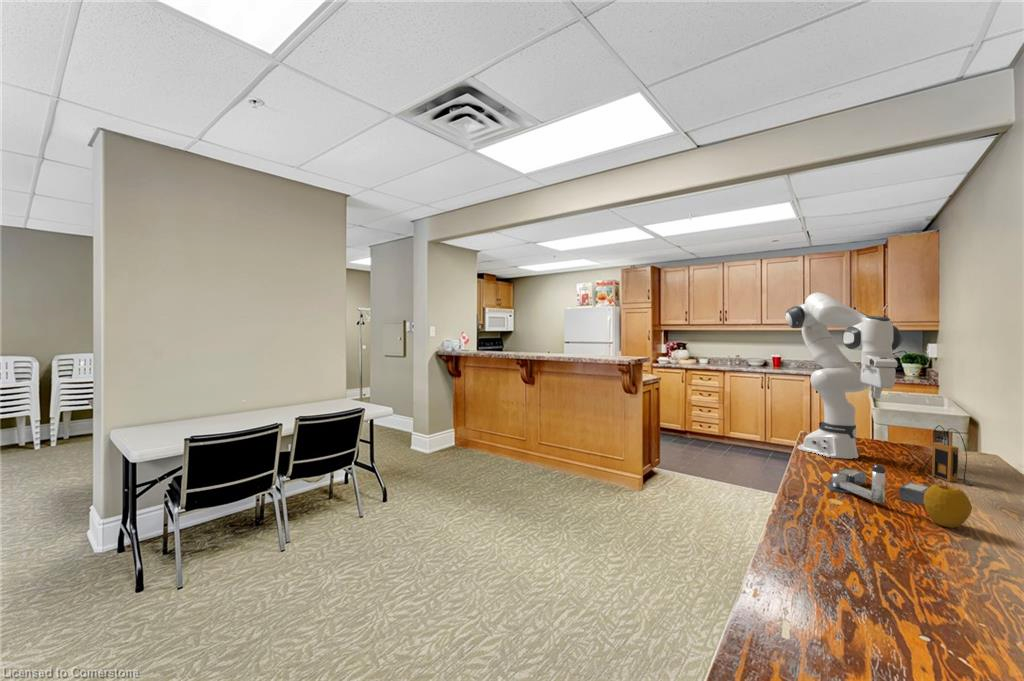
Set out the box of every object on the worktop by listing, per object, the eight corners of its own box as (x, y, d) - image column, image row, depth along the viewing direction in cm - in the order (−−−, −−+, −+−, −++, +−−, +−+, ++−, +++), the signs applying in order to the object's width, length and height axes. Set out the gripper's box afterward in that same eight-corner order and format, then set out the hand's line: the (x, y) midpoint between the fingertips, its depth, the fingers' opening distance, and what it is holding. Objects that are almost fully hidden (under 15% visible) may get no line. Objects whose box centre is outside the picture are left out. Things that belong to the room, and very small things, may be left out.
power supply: (899, 499, 143) (899, 486, 143) (909, 493, 148) (910, 481, 148) (923, 505, 138) (924, 492, 137) (933, 499, 143) (933, 486, 143)
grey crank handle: (828, 484, 153) (829, 450, 152) (838, 483, 153) (839, 450, 153) (877, 504, 135) (878, 466, 135) (888, 503, 136) (889, 466, 135)
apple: (971, 525, 123) (973, 485, 123) (970, 536, 117) (971, 493, 117) (924, 514, 131) (926, 476, 130) (920, 524, 124) (922, 483, 124)
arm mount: (830, 491, 149) (831, 488, 149) (825, 485, 155) (825, 483, 155) (852, 493, 147) (852, 491, 147) (846, 487, 153) (846, 485, 153)
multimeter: (988, 486, 155) (990, 431, 154) (960, 486, 155) (961, 431, 155) (947, 472, 170) (949, 422, 169) (922, 472, 170) (923, 422, 169)
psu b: (834, 483, 157) (834, 471, 157) (846, 478, 163) (846, 467, 163) (854, 488, 152) (854, 476, 152) (865, 483, 158) (865, 471, 157)
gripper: (855, 358, 168) (854, 393, 169) (877, 361, 150) (875, 401, 150) (876, 358, 166) (874, 394, 166) (900, 362, 147) (898, 402, 148)
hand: (875, 398), depth 158 cm, fingers closed
